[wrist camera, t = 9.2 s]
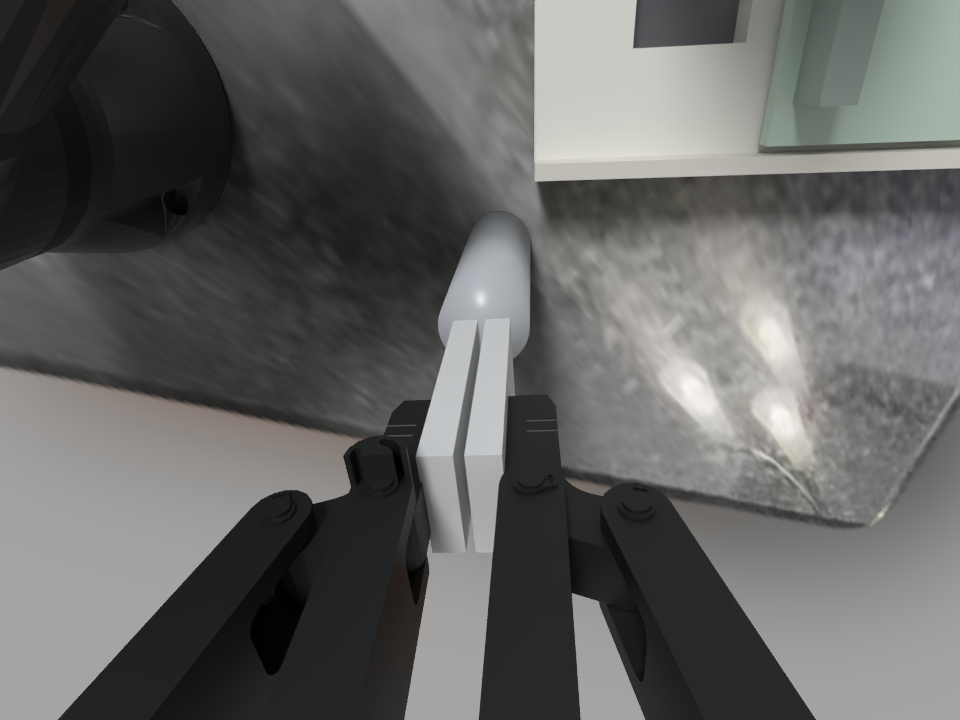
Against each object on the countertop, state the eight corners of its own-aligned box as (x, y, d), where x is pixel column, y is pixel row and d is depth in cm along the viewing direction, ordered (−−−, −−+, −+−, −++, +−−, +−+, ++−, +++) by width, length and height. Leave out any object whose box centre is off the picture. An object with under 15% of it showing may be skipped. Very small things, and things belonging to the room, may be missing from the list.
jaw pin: (470, 272, 33) (441, 367, 22) (467, 212, 31) (434, 284, 20) (530, 271, 32) (529, 367, 22) (530, 210, 31) (529, 283, 20)
